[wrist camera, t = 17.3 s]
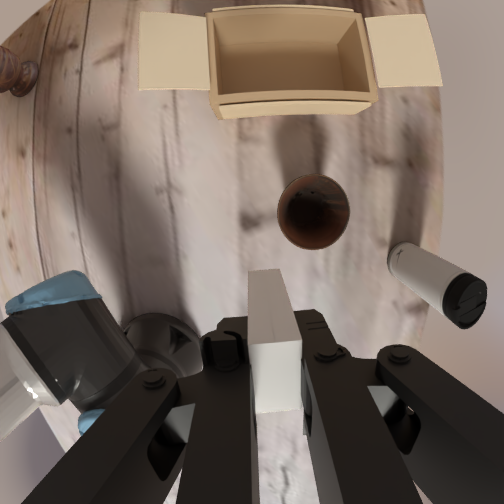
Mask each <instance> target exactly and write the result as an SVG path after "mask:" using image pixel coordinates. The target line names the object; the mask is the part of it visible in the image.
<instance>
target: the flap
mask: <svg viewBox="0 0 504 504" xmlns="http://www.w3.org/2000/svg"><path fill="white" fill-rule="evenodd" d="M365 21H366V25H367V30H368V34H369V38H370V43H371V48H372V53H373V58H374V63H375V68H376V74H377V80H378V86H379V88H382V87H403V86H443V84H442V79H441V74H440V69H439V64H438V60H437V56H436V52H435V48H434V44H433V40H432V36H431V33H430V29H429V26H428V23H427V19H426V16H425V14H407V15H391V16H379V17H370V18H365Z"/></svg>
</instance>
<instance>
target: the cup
mask: <svg viewBox="0 0 504 504" xmlns="http://www.w3.org/2000/svg"><path fill="white" fill-rule="evenodd" d="M349 217H350V206H349V201H348V197H347V195H346V193H345V192H344V190H343V189H342V187H341V186H340V185H339V184H338V183H337V182H336V181H334V180H333V179H331V178H329V177H327V176H324V175H320V174H309V175H305V176H302V177H299V178H297V179H296V180H294V181H293V182H291V183H290V184H289V185H288V186H287V187H286V189H285V190H284V192H283V193H282V195H281V197H280V200H279V203H278V209H277V218H278V223H279V226H280V228H281V231H282V232H283V234H284V235H285V237H286V238H287V239H288V240H289V241H290V242H291V243H293V244H294V245H296V246H297V247H300V248H303V249H307V250H319V249H323V248H326V247H328V246H330V245H332V244H333V243H335V242H336V241H337V240H338V239H339V238H340V237H341V236H342V234H343V233H344V231H345V229H346V227H347V224H348V221H349Z"/></svg>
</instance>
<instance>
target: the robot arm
mask: <svg viewBox="0 0 504 504" xmlns="http://www.w3.org/2000/svg"><path fill="white" fill-rule="evenodd" d="M5 308H6V314H7V315H9V317H8V318H6V319H5V320H4V321H3V322H1V323H0V442H1V441H2V440H3V439H4V438H6V437H7V436H8V435H9V434H10V433H11V432H12V431H13V430H14V429H15V428H16V427H17V426H18V425H20V423H21V422H23V421H24V420H25V419H26V418H27V417H28V416H29V415H30V414H31V413H32V412H34V411H35V410H36V409H37V408H38V407H39V406H40V405H50V406H57V407H58V406H60V405H61V404H62V403H63V402H64V401H66V400H67V399H69V400H70V401H71V402H72V403H73V405H74V406H75V407H76V408H77V409H78V410H79V411H80V413H81V415H80V416H79V419H78V429H79V433H80V435H81V437H80V438H79V439H78V440H77V442H76V443H75V444H74V445H73V446H72V447H71V448H70V449H69V450H68V452H67V453H66V454H65V455H64V456H63V457H62V458H61V459H60V461H59V462H58V463H57V464H56V465H55V466H54V467H53V468H52V469H51V471H50V472H49V473H48V474H47V475H46V476H45V477H44V478H43V480H42V481H41V482H40V483H39V484H38V485H37V486H36V487H35V488H34V490H33V491H32V492H31V493H30V494H29V495H28V496H27V497H26V499H25V500H24V501H23V502H22V503H21V504H163V503H164V501H165V499H166V497H167V495H168V493H169V492H170V490H171V488H172V486H173V484H174V482H175V480H176V479H177V477H178V475H179V473H180V471H181V469H182V473H181V478H180V483H179V489H178V494H177V500H176V504H260V495H259V469H258V443H257V422H256V413H268V412H279V411H289V410H298V409H302V403H303V407H304V420H303V435H307V440H308V445H309V450H310V455H311V460H312V465H313V470H314V476H315V481H316V486H317V491H318V496H319V502H320V504H423V503H422V500H421V498H420V496H419V493H418V491H417V489H416V487H415V484H414V482H415V483H416V484H417V486H418V487H419V488H420V489H421V490H422V492H424V494H425V495H426V496H427V497H428V498H429V499H430V501H431V502H432V503H433V504H504V414H503V413H502V412H500V411H499V410H498V409H496V408H495V407H493V406H492V405H491V404H490V403H488V402H487V401H486V400H484V399H483V398H481V397H480V396H479V395H477V394H476V393H475V392H473V391H472V390H471V389H469V388H468V387H467V386H465V385H464V384H462V383H461V382H460V381H458V380H457V379H456V378H454V377H453V376H452V375H450V374H449V373H447V372H446V371H445V370H443V369H442V368H440V367H439V366H438V365H437V364H435V363H434V362H432V361H431V360H430V359H428V358H427V357H425V356H424V355H423V354H421V353H420V352H419V351H417V350H416V349H414V348H412V347H410V346H406V345H401V344H398V345H397V344H396V345H390V346H386V347H384V348H382V349H380V351H379V352H378V354H377V359H361V358H355V357H352V356H351V354H350V352H349V351H348V350H347V349H346V348H345V347H343V346H341V345H339V344H337V343H336V341H335V339H334V337H333V335H332V333H331V331H330V329H329V328H328V325H327V323H326V321H325V319H324V317H323V315H322V314H321V313H319V312H318V311H316V310H315V309H311V310H301V311H293V309H292V306H291V303H290V300H289V297H288V293H287V290H286V287H285V284H284V281H283V278H282V275H281V272H280V269H269V270H258V271H248V316H244V317H230V318H223V319H222V320H221V321H220V322H219V323H218V324H217V329H216V330H214V331H211V332H208V333H207V334H205V335H204V336H202V337H201V338H200V340H199V338H198V336H197V335H196V334H195V332H194V331H193V330H192V329H191V328H190V327H189V326H188V325H186V324H185V323H183V322H182V321H180V320H178V319H176V318H174V317H172V316H169V315H165V314H159V313H149V314H144V315H141V316H138V317H136V318H135V319H133V320H132V321H131V322H130V323H129V324H128V325H127V327H126V328H125V329H124V331H122V330H121V328H120V327H119V325H118V324H117V322H116V321H115V319H114V317H113V316H112V314H111V313H110V311H109V310H108V308H107V306H106V305H105V303H104V302H103V300H102V296H101V295H100V294H98V293H97V291H96V290H95V289H94V287H93V286H92V284H91V282H90V281H89V279H88V278H87V276H86V275H85V274H83V273H82V272H80V271H77V270H71V271H67V272H64V273H62V274H59V275H57V276H54V277H52V278H50V279H47V280H45V281H43V282H41V283H39V284H37V285H35V286H33V287H31V288H29V289H27V290H26V291H24V292H23V293H21V294H19V295H18V296H15V297H14V298H12V299H11V300H9V301H8V302H7V303H6V305H5ZM202 366H203V370H202ZM201 370H202V371H201ZM408 406H409V407H410V408H411V409H412V410H413V411H414V412H413V411H412V410H410V409H409V408H408ZM182 467H183V468H182ZM413 481H414V482H413Z"/></svg>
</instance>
